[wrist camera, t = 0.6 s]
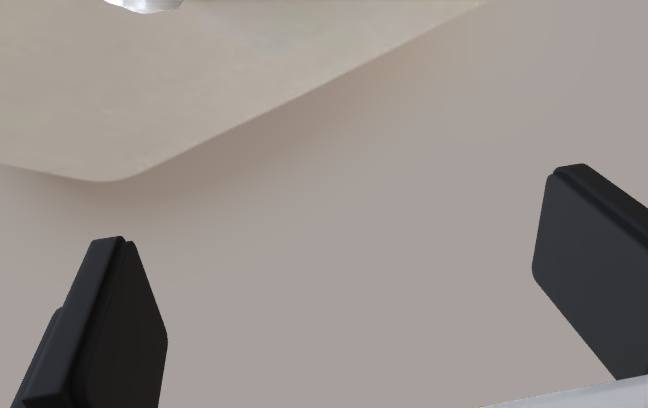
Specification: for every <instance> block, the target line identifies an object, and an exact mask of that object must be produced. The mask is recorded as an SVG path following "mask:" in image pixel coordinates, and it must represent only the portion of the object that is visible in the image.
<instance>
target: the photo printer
mask: <svg viewBox="0 0 648 408" xmlns="http://www.w3.org/2000/svg"><path fill="white" fill-rule="evenodd" d="M105 1H107V2H109V3H111V4H115V5H119V6H123V7H125V8H127V9H129V10H131V11H134V12H138V13H145V14H147V13H156V12H159V11H167V10H174V9H177V8H178V7H179V6H180V4H181V3H182V2H183V0H105Z"/></svg>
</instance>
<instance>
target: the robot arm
mask: <svg viewBox="0 0 648 408" xmlns="http://www.w3.org/2000/svg"><path fill="white" fill-rule="evenodd" d="M532 273H533V277H534V279H535V280H536V282H537V283H538V285H539V286H540V287H541V288H542V290H543V291H544V292H545V293H546V294H547V296H548V297H549V298H550V299H551V300H552V302H553V303H554V304H555V305H556V307H557V308H558V309H559V310H560V312H561V313H562V314H563V315H564V317H565V318H566V319H567V320H568V321H569V323H570V324H571V325H572V326H573V328H574V329H575V330H576V331H577V332H578V334H579V335H580V336H581V337H582V339H583V340H584V341H585V342H586V344H587V345H588V346H589V347H590V348H591V350H592V351H593V352H594V353H595V354H596V356H597V357H598V358H599V359H600V361H601V362H602V363H603V364H604V366H605V367H606V368H607V369H608V371H609V372H610V373H611V374H612V375H613V377H614V378H615V379H616V380H617V381H612V382H607V383H602V384H597V385H591V386H586V387H581V388H575V389H571V390H566V391H560V392H555V393H550V394H544V395H539V396H534V397H529V398H524V399H519V400H513V401H508V402H503V403H498V404H493V405H488V406H483V407H478V408H648V208H646V207H645V206H644V205H642V204H641V203H639V202H638V201H636V200H635V199H634V198H632V197H631V196H630V195H628V194H627V193H625V192H624V191H623V190H621V189H620V188H618V187H617V186H616V185H614V184H613V183H611V182H610V181H609V180H607V179H606V178H604V177H603V176H602V175H600V174H599V173H598V172H596V171H595V170H593V169H592V168H591V167H589V166H588V165H586V164H575V165H568V166H562V167H558V168H556V169H555V170H554V172H553V174H551V175H549V176H548V178H547V181H546V186H545V192H544V198H543V203H542V209H541V215H540V221H539V227H538V233H537V239H536V245H535V251H534V256H533V262H532ZM167 346H168V338H167V332H166V329H165V326H164V323H163V320H162V318H161V315H160V312H159V309H158V306H157V304H156V301H155V298H154V296H153V293H152V290H151V287H150V284H149V281H148V279H147V276H146V273H145V270H144V268H143V265H142V262H141V259H140V257H139V254H138V251H137V248H136V246H135V244H134V243H133V241H127V242H126V241H125V239H124V238H123V237H122V236H116V237H110V238H103V239H97V240H93V241H92V242H91V244H90V246H89V248H88V251H87V253H86V255H85V257H84V259H83V262H82V264H81V266H80V269H79V271H78V273H77V275H76V277H75V280H74V282H73V284H72V287H71V289H70V291H69V293H68V295H67V298H66V300H65V302H64V305H63V307H60V308H59V309H57V310H56V311H55V313H54V314H53V316H52V318H51V320H50V323H49V325H48V327H47V329H46V331H45V333H44V335H43V338H42V340H41V342H40V344H39V346H38V349H37V351H36V353H35V355H34V357H33V359H32V362H31V364H30V366H29V368H28V370H27V372H26V375H25V377H24V379H23V381H22V383H21V385H20V388H19V390H18V392H17V394H16V396H15V399H14V401H13V403H12V405H11V407H10V408H158V403H159V397H160V391H161V384H162V378H163V372H164V366H165V359H166V353H167Z"/></svg>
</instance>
